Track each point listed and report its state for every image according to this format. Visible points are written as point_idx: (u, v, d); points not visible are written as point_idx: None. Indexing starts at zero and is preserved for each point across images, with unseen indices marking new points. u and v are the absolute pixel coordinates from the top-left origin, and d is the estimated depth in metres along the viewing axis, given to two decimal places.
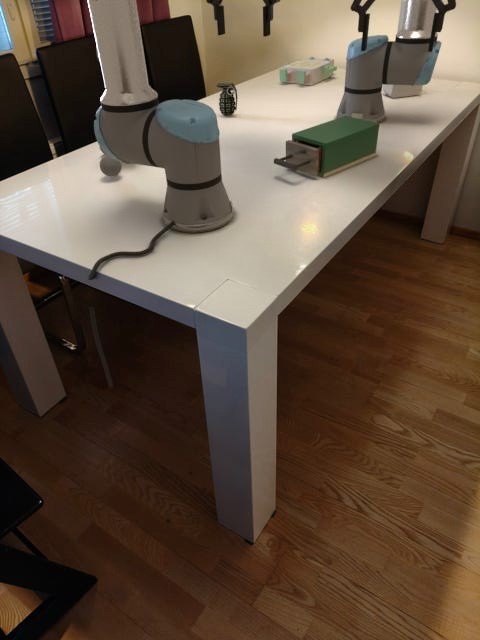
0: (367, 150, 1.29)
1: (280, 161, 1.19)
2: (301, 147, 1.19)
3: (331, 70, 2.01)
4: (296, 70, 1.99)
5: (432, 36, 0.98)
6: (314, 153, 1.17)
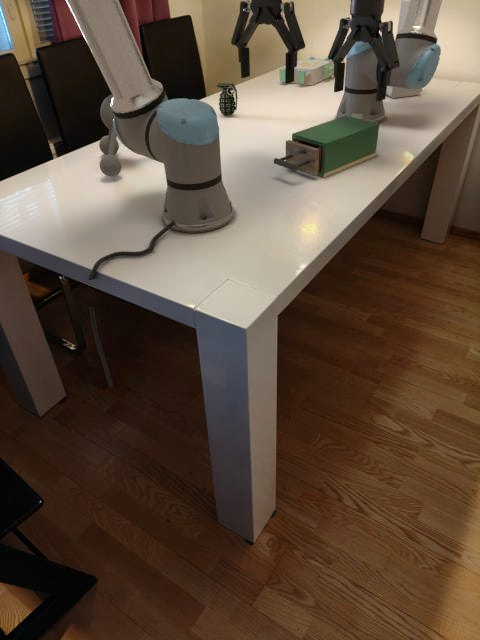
0: (367, 150, 1.29)
1: (280, 161, 1.19)
2: (301, 147, 1.19)
3: (331, 70, 2.01)
4: (296, 70, 1.99)
5: None
6: (314, 153, 1.17)
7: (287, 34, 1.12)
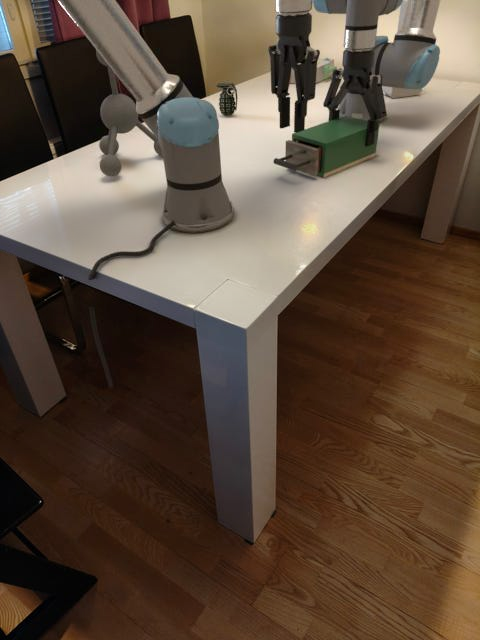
0: (367, 150, 1.29)
1: (280, 161, 1.19)
2: (301, 147, 1.19)
3: (331, 70, 2.01)
4: None
5: None
6: (314, 153, 1.17)
7: (302, 82, 1.07)
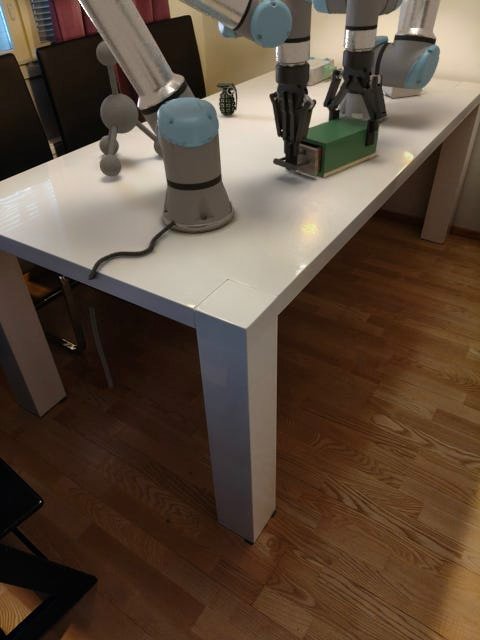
0: (367, 150, 1.29)
1: (280, 161, 1.19)
2: (301, 147, 1.19)
3: (331, 70, 2.01)
4: None
5: None
6: (314, 153, 1.17)
7: (297, 126, 1.13)
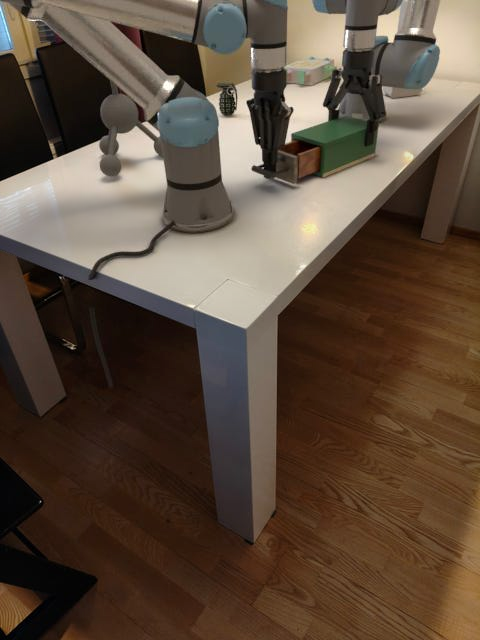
0: (366, 150, 1.29)
1: (258, 168, 1.16)
2: (280, 154, 1.16)
3: (331, 70, 2.01)
4: (296, 70, 1.99)
5: None
6: (293, 161, 1.14)
7: (274, 134, 1.10)
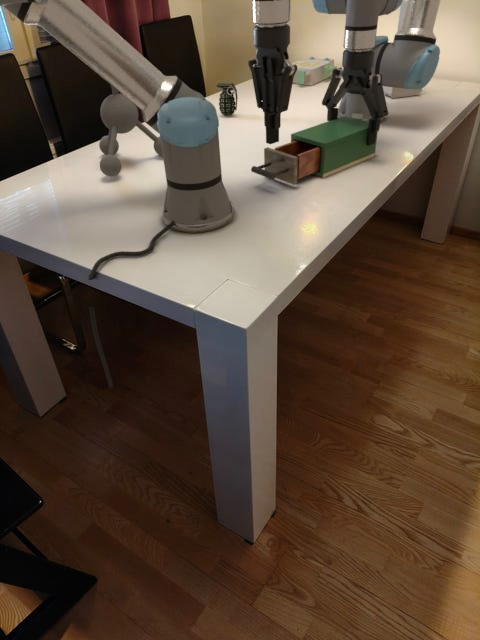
0: (366, 150, 1.28)
1: (258, 169, 1.16)
2: (279, 155, 1.16)
3: (331, 70, 2.01)
4: None
5: None
6: (292, 161, 1.13)
7: (277, 95, 1.05)
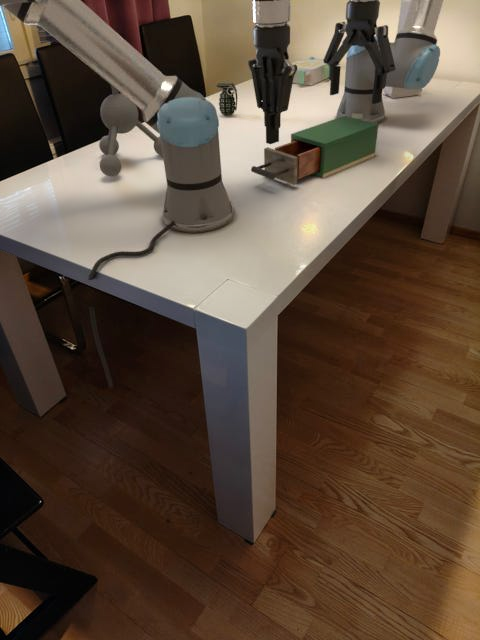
0: (366, 150, 1.28)
1: (258, 169, 1.16)
2: (279, 155, 1.16)
3: None
4: None
5: None
6: (292, 161, 1.13)
7: (277, 95, 1.05)
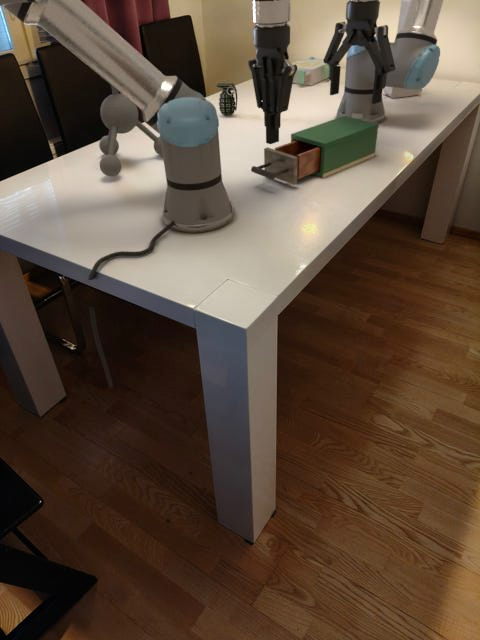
0: (366, 150, 1.28)
1: (258, 169, 1.16)
2: (279, 155, 1.16)
3: None
4: None
5: None
6: (292, 161, 1.13)
7: (277, 95, 1.05)
